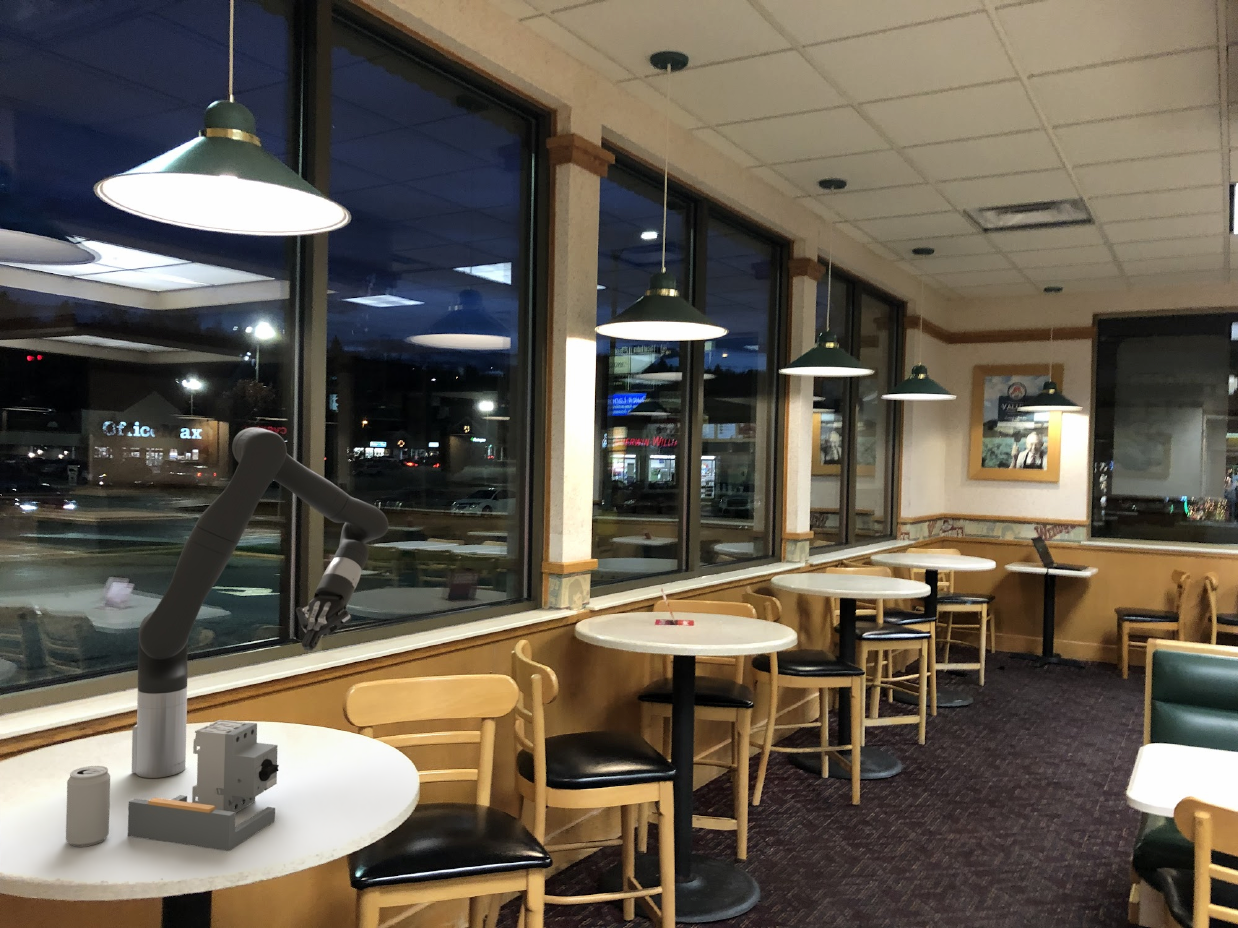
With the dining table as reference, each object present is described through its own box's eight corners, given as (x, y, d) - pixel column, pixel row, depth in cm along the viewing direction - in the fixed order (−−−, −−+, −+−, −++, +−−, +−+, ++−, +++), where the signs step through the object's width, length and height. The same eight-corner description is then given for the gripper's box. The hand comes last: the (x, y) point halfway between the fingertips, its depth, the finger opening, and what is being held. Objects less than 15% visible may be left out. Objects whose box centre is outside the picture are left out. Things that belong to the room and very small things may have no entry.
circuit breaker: (261, 819, 169) (263, 737, 169) (191, 811, 172) (193, 730, 172) (284, 804, 177) (286, 725, 177) (217, 796, 180) (218, 719, 179)
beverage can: (77, 832, 161) (78, 764, 161) (115, 832, 162) (117, 764, 162) (58, 848, 155) (59, 777, 155) (98, 848, 156) (99, 777, 155)
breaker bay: (127, 835, 161) (128, 798, 161) (179, 808, 173) (180, 772, 173) (228, 850, 156) (229, 811, 156) (274, 821, 169) (275, 785, 169)
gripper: (305, 570, 206) (271, 635, 194) (360, 573, 203) (328, 640, 191) (318, 590, 211) (285, 655, 199) (371, 594, 208) (341, 660, 196)
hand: (306, 648), depth 195 cm, fingers closed
